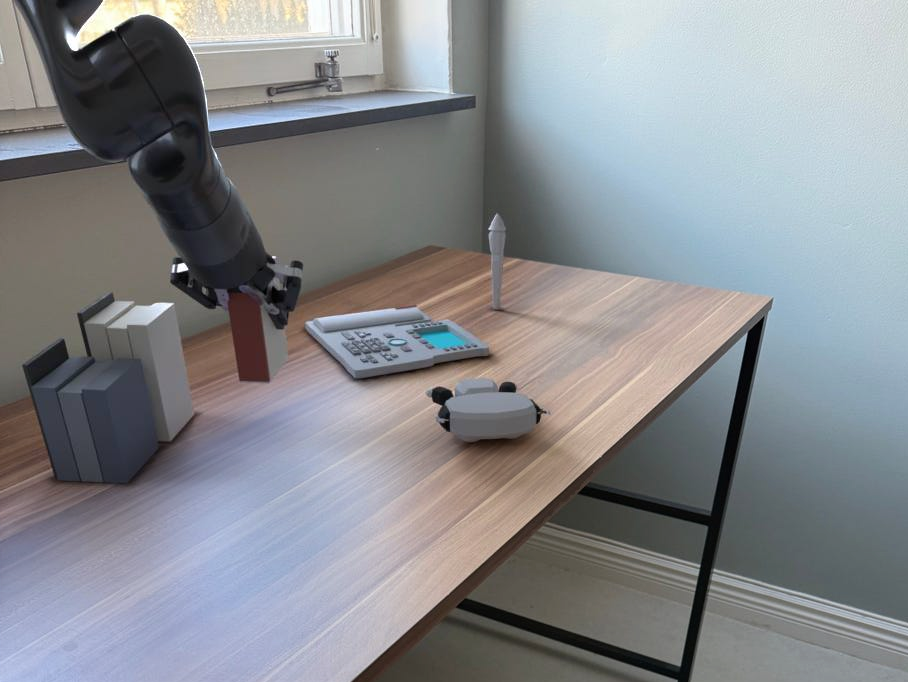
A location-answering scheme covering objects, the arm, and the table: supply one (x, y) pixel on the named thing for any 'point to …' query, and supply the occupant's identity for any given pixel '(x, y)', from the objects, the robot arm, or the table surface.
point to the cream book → (256, 339)
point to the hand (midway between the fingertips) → (264, 320)
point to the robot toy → (485, 410)
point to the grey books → (91, 414)
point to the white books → (143, 354)
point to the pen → (497, 257)
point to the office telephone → (393, 340)
